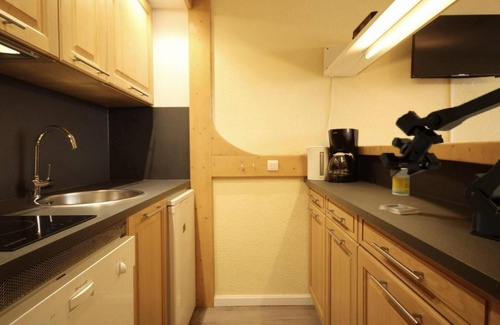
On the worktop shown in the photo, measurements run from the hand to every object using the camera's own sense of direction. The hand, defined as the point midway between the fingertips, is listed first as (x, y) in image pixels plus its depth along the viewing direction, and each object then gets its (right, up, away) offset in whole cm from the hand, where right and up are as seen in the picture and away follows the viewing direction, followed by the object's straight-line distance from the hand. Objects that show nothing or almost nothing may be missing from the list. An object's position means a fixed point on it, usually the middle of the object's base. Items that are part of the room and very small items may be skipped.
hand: (398, 176), depth 97 cm
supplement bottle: (0, -7, -1) cm, 7 cm away
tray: (-1, -13, -1) cm, 13 cm away
